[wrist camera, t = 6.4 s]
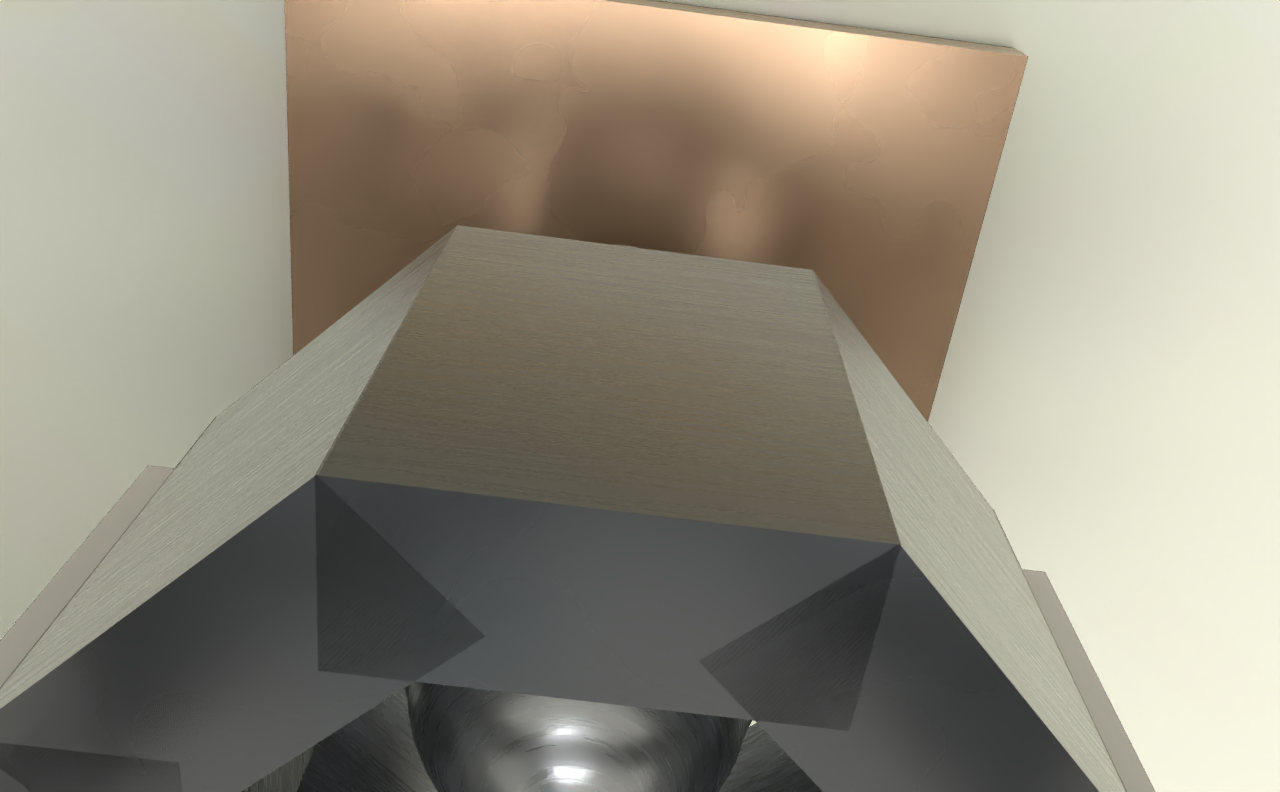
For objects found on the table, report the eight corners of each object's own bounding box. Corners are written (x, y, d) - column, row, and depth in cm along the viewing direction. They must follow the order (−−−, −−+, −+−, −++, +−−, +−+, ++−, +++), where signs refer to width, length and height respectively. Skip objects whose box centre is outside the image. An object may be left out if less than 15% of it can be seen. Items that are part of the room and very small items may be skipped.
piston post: (310, 550, 23) (19, 1118, 13) (299, -47, 18) (-216, 110, 8) (862, 614, 24) (1008, 1217, 13) (1014, 48, 18) (1460, 321, 8)
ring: (240, 814, 15) (61, 1213, 11) (201, 192, 11) (-110, 423, 7) (874, 884, 16) (953, 1302, 11) (1061, 300, 12) (1303, 592, 7)
